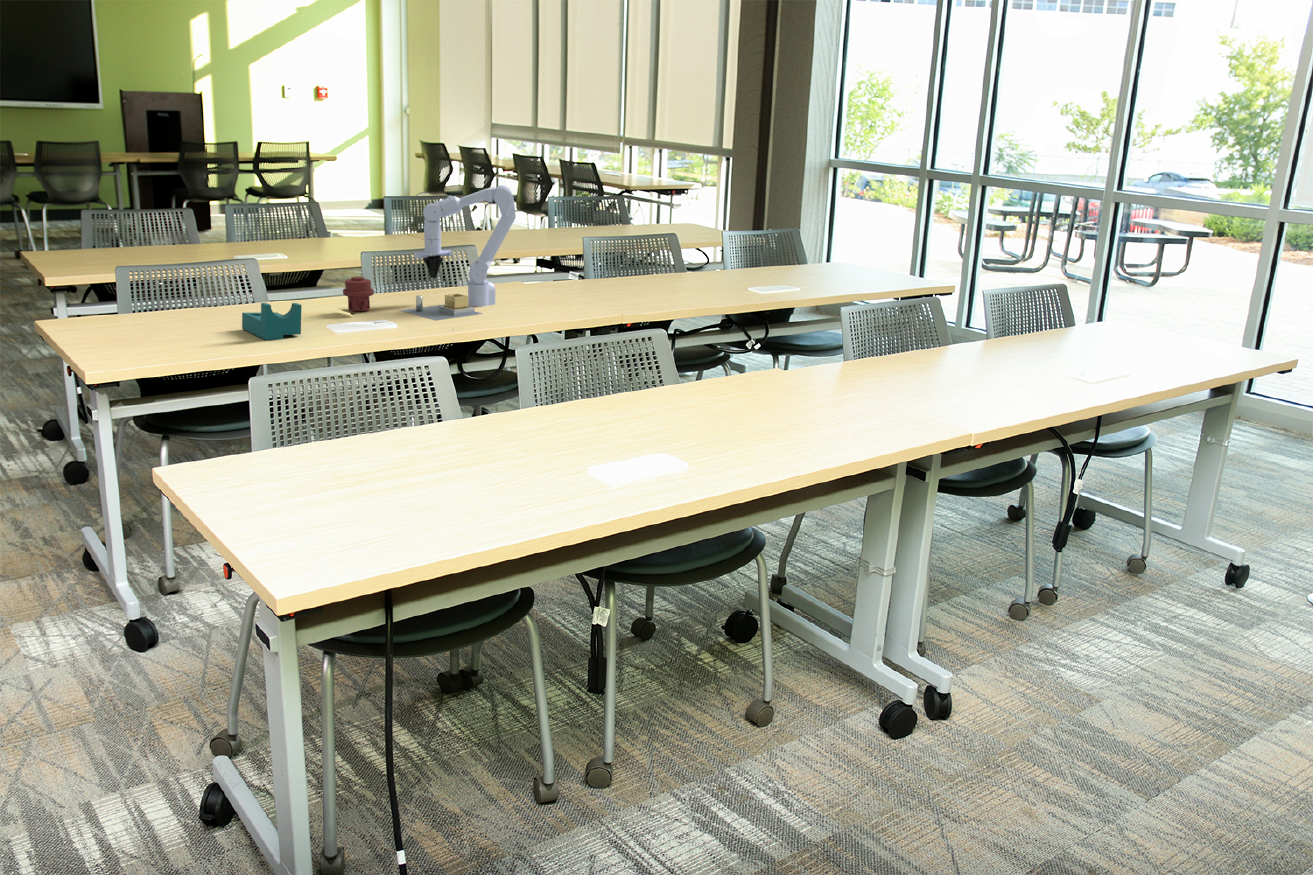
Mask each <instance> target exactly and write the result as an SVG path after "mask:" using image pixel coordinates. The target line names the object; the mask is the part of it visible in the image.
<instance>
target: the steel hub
mask: <svg viewBox="0 0 1313 875" xmlns="http://www.w3.org/2000/svg"><path fill="white" fill-rule="evenodd" d="M441 305H442V306H439V312H442V313H446V314H450V315H453V316H456V315H463V314H471V313H475V312H476V311H475V307H476V306H470V305H468V308H461V309H452V308H448V307H445V305H443V304H441Z"/></svg>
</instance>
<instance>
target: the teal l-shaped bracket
mask: <svg viewBox="0 0 1313 875" xmlns="http://www.w3.org/2000/svg"><path fill="white" fill-rule="evenodd" d="M241 314H242V315H241V318H242V319H241V329H242V330H244V331H246V332H248V333H251V334H252V335H255V336H257V337H259V338H260V339H262V340H265V341H268V340H269V341H272V340H273V341H275V340H276V341H277V340H284V335H285V336H286V335H288V336H289V335H291V336H292V335H294V336H295V335H301V334H302V304H300V303H297V302H292V303H291V306H290V308H289V310H288V312H286V313H285V314H281V313H279V312H274V311H273V309H272V305H271V304H269V303H267V302H260V312H241Z"/></svg>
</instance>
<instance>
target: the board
mask: <svg viewBox="0 0 1313 875" xmlns="http://www.w3.org/2000/svg"><path fill="white" fill-rule="evenodd" d="M442 305H445V303H444V304H438V305H430V306H423V311H422V312H417V311H416V307H413V308H407V309H398V311H399V312H403V313H406V314H411V315H414V316H418V317H421V318H425V319H428V320H432V321H442V320H449V319H454V318H455V319H457V318H463V317H470V316H478V315H483V314H484V313H482V312H479V311H475V313H471V314H463V315H456V316H453V315H450V314H446V313H442V312H439V306H442Z"/></svg>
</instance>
